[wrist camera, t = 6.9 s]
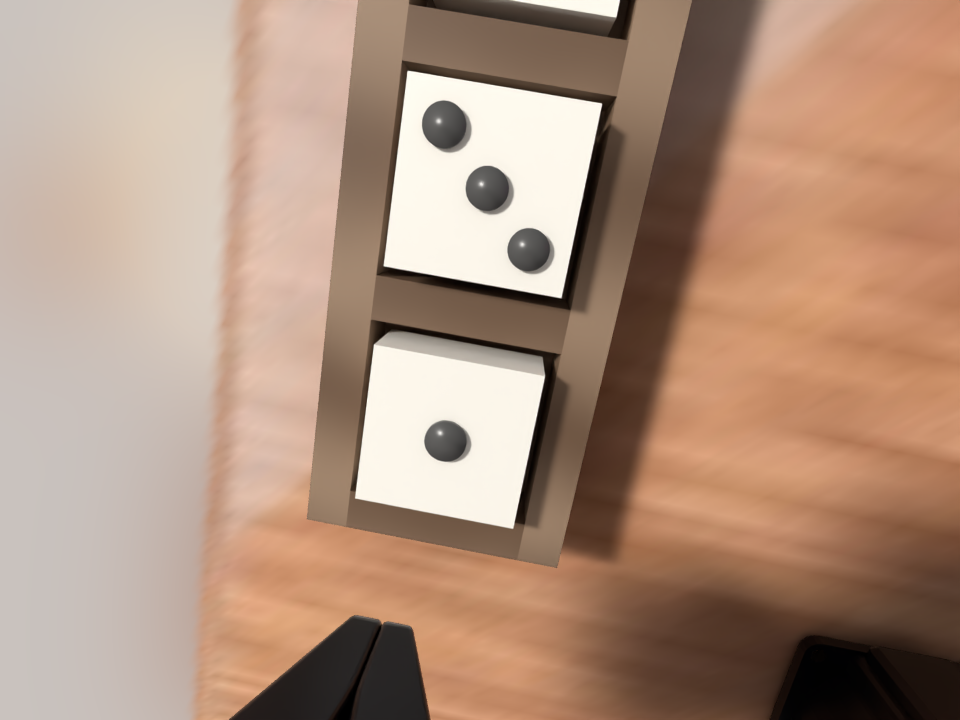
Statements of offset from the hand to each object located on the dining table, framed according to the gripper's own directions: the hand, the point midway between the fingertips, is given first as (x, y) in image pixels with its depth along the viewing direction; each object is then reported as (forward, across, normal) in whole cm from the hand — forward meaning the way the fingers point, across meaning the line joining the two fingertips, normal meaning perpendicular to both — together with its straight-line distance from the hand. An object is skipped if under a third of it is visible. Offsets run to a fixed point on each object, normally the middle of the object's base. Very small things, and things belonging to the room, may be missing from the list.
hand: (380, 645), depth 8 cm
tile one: (+9, 0, 0) cm, 9 cm away
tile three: (+9, 0, -6) cm, 11 cm away
